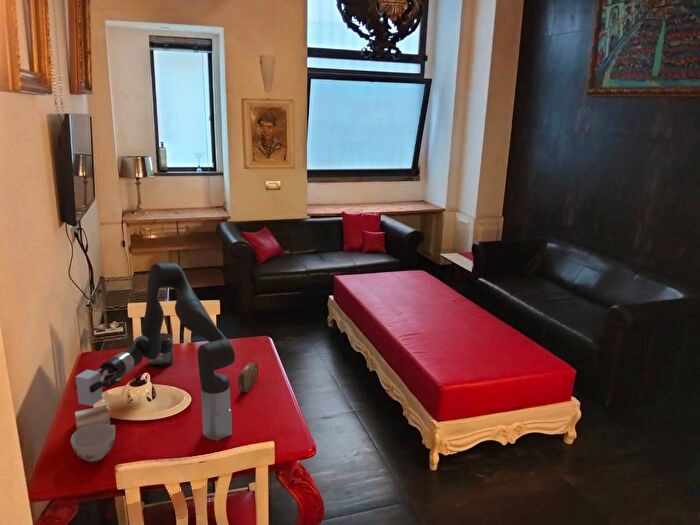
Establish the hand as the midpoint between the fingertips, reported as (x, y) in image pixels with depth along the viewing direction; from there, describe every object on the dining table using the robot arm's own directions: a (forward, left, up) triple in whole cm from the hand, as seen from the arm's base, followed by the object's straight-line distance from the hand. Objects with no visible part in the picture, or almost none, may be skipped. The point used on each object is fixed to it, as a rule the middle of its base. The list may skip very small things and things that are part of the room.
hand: (83, 388), depth 177 cm
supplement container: (+32, -41, -16) cm, 55 cm away
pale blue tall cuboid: (+1, -2, -6) cm, 7 cm away
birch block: (+1, -2, -16) cm, 17 cm away
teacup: (-15, +2, -16) cm, 22 cm away
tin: (-9, -58, -16) cm, 61 cm away
